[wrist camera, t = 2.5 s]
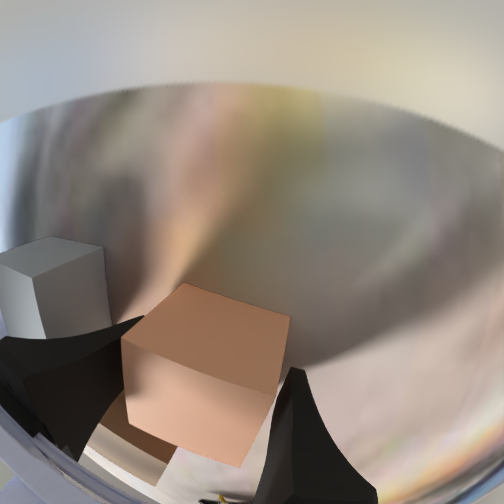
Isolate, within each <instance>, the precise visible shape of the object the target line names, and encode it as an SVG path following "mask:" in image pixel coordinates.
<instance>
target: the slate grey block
mask: <svg viewBox="0 0 504 504" xmlns="http://www.w3.org/2000/svg"><path fill="white" fill-rule="evenodd" d="M0 310H1V314H2V317H3V320H4V323H5V327H6V330H7V333H8V336H11V337H19V338H28V339H52V338H64V337H71V336H77V335H82V334H86V333H90V332H94V331H97V330H101V329H104V328H107V327H110V326H112V321H111V315H110V308H109V300H108V292H107V283H106V272H105V260H104V247H101V246H96V245H91V244H86V243H81V242H76V241H71V240H66V239H62V238H57V237H52V236H49V237H46V238H42V239H39V240H36V241H33V242H30V243H28V244H25V245H22V246H19V247H16V248H13V249H11V250H8V251H5V252H2V253H0Z"/></svg>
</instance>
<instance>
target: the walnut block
mask: <svg viewBox="0 0 504 504" xmlns="http://www.w3.org/2000/svg"><path fill="white" fill-rule="evenodd" d="M87 445H88V446H89V447H90V448H92V449H93V450H95V451H96V452H98V453H99V454H100V455H102V456H103V457H105V458H106V459H108V460H109V461H111V462H113V463H114V464H116V465H117V466H119V467H120V468H122V469H124V470H125V471H127V472H129V473H131V474H132V475H134V476H136V477H138V478H139V479H141V480H143V481H145V482H147V483H149V484H151V485H153V486H154V487H155V486H156V484H157V483H158V481H159V479H160V477H161V476H162V474H163V472H164V470H165V469H166V467H167V465H168V463H169V461H170V460H171V458H172V456H173V454H174V452H175V450H176V449H177V447H178V446H176V445H173V444H171V443H169V442H166V441H164V440H162V439H160V438H158V437H155V436H153V435H151V434H149V433H147V432H145V431H143V430H141V429H139V428H137V427H135V426H133V425H131V424H129V420H128V413H127V406H126V398H125V389H124V390H123V391H122V392H121V393H120V394H119V395H118V396H117V398H116V399H115V400H114V401H113V403H112V404H111V405H110V407H109V408H108V410H107V411H106V413H105V414H104V416H103V417H102V419H101V420H100V422H99V424H98V425H97V427H96V428H95V430H94V432H93V433H92V435H91V437H90V439H89V441H88V442H87Z"/></svg>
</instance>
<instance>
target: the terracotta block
mask: <svg viewBox="0 0 504 504" xmlns="http://www.w3.org/2000/svg"><path fill="white" fill-rule="evenodd" d="M290 318H291V317H290V316H286V315H283V314H280V313H276V312H273V311H270V310H266V309H263V308H260V307H256V306H253V305H250V304H247V303H243V302H240V301H237V300H234V299H231V298H228V297H225V296H222V295H219V294H216V293H213V292H210V291H207V290H204V289H201V288H198V287H195V286H192V285H189V284H186V283H183V284H182V285H180V286H179V287H178V288H177V289H176V290H175V291H173V292H172V293H171V294H170V295H169V296H168V297H166V298H165V299H164V300H163V301H162V302H161V303H160V304H158V305H157V306H156V307H155V308H154V309H153V310H152V311H150V312H149V313H148V314H147V315H146V316H145V317H144V318H142V319H141V320H140V321H139V322H138V323H137V324H136V325H134V326H133V327H132V328H131V329H130V330H129V331H128V332H126V333H125V334H124V335H123V336H122V337H121V351H122V367H123V379H124V389H125V398H126V406H127V413H128V420H129V424H131V425H133V426H135V427H137V428H139V429H141V430H143V431H145V432H147V433H149V434H151V435H153V436H155V437H158V438H160V439H162V440H164V441H166V442H169V443H171V444H173V445H176V446H178V447H181V448H183V449H186V450H188V451H191V452H193V453H196V454H199V455H202V456H204V457H207V458H210V459H213V460H216V461H219V462H222V463H226V464H229V465H232V466H236V467H239V468H240V467H241V465H242V463H243V461H244V460H245V458H246V456H247V454H248V452H249V450H250V448H251V446H252V444H253V442H254V440H255V438H256V436H257V435H258V433H259V430H260V428H261V426H262V424H263V422H264V420H265V418H266V416H267V414H268V412H269V410H270V408H271V406H272V403H273V401H274V399H275V397H276V393H277V388H278V383H279V378H280V373H281V368H282V363H283V357H284V352H285V347H286V341H287V336H288V330H289V324H290Z"/></svg>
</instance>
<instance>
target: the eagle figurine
mask: <svg viewBox="0 0 504 504" xmlns="http://www.w3.org/2000/svg"><path fill="white" fill-rule="evenodd" d="M198 502H199V503H200V504H204V503H202V502H200V501H198ZM218 504H229V503H228V502H227V501H226V500H225V499H224V498H223V496H222V495H219V500H218Z"/></svg>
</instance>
